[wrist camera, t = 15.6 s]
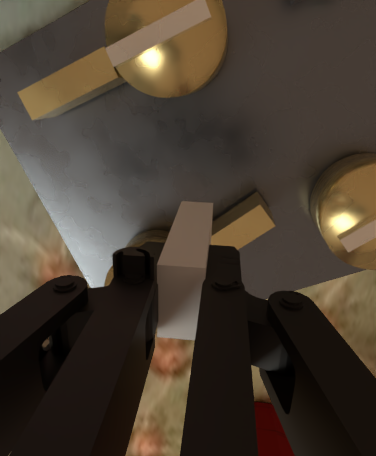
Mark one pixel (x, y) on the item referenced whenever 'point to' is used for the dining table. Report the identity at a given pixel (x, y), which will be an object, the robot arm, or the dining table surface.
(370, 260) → the knob
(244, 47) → the levelling plate
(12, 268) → the dining table surface
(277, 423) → the plastic cup
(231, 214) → the knob
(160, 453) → the dining table surface
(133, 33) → the knob
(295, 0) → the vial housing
